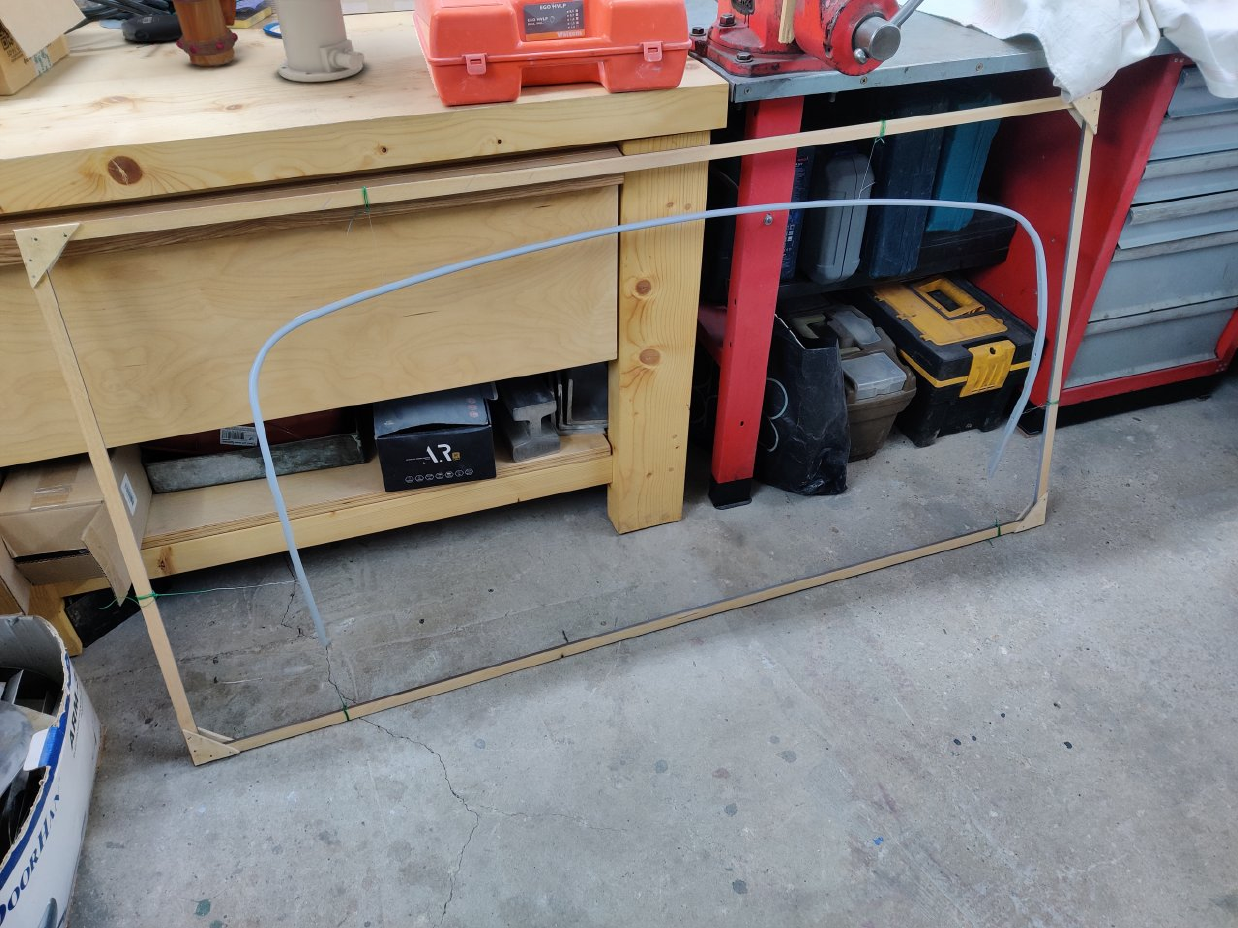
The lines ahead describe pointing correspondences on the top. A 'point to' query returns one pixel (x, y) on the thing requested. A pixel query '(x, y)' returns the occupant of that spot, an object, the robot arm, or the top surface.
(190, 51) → the mug
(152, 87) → the top surface
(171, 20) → the electronic device
